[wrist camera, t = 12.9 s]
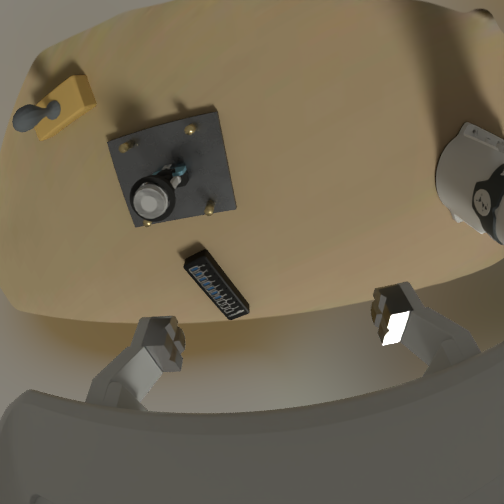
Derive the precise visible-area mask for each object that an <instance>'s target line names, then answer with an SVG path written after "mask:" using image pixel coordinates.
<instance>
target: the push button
mask: <svg viewBox="0 0 504 504" xmlns="http://www.w3.org/2000/svg"><path fill="white" fill-rule="evenodd" d="M171 165H172V164H169V165H165V166H164V167H163V168H162V170H161V171H157V172H154V173H153V174H152V175H149V176H146V177H143V178H141V179H139V180H138V181H137V182H136V183H135V184H134V185H133V186H132V188H131V191H130V197H129V198H130V204H131V207H132V209H133V210H134V212H135V213H136V214H137V215H138V216H139V217H141V218H142V219H144V220H147V221H151V222H158V221H162V220H164V219H166V218H167V217H169V216H170V215H171V213H172V212H173V210H174V207H175V203H176V197H175V188H178V187H183V186H186V184H187V183H188V181H189V178H188V173H187V169H186V166H181V167H176V168H171V169H170V166H171ZM144 183H145V184H144ZM141 185H143V186H141ZM140 186H141V187H140ZM169 200H170V204H169V207H168V202H169ZM167 207H168V208H167Z"/></svg>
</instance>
